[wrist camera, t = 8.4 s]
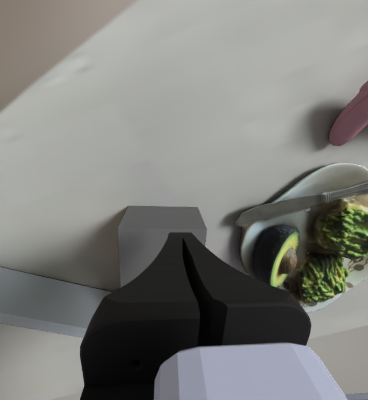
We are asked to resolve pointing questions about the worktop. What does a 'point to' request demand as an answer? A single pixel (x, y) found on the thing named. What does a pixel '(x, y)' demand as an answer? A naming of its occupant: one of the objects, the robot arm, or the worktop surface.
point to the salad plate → (311, 236)
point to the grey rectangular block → (152, 235)
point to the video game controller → (351, 119)
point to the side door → (47, 303)
